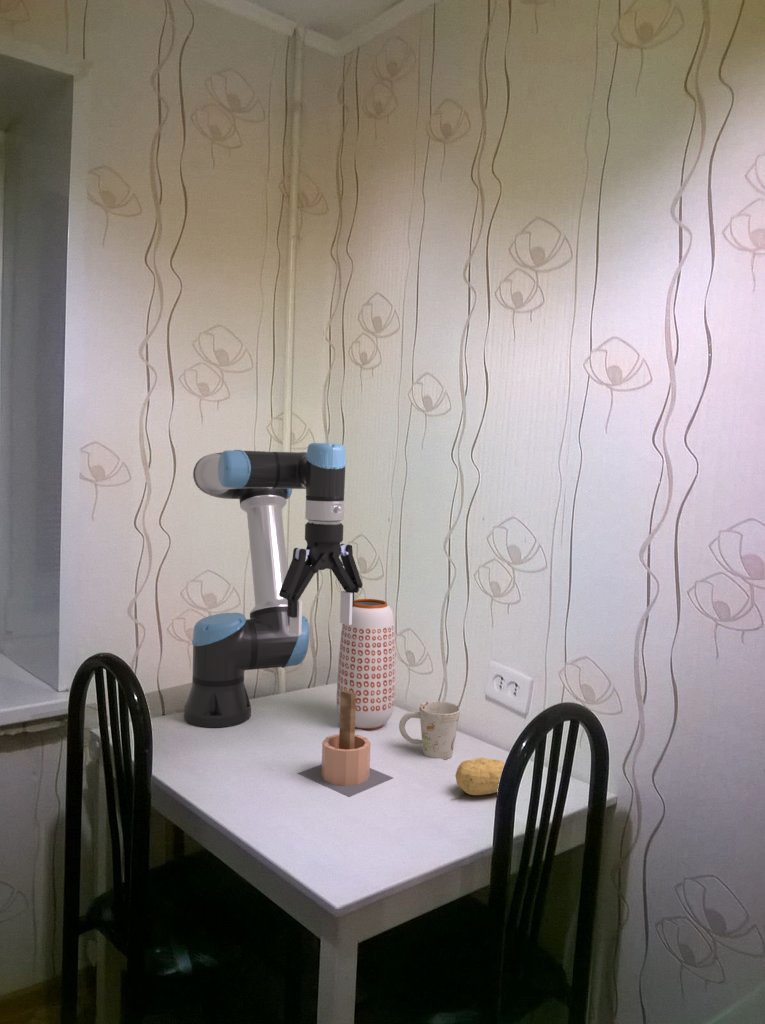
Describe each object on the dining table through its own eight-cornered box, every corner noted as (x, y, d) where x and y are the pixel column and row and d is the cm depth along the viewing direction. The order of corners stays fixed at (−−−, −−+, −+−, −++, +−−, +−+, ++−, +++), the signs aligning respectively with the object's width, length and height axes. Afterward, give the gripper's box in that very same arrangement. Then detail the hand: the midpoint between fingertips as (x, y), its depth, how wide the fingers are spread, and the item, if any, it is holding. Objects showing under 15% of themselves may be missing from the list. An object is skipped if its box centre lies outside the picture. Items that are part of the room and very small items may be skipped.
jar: (312, 774, 147) (313, 741, 147) (345, 762, 154) (346, 730, 153) (345, 789, 141) (346, 755, 141) (378, 776, 148) (379, 742, 147)
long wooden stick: (329, 769, 148) (331, 691, 147) (346, 764, 151) (348, 688, 150) (345, 776, 144) (347, 696, 144) (362, 770, 148) (364, 692, 147)
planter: (324, 721, 178) (327, 600, 175) (367, 710, 187) (371, 594, 184) (361, 738, 168) (366, 610, 166) (406, 725, 177) (410, 603, 175)
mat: (297, 775, 148) (297, 773, 148) (342, 758, 157) (342, 756, 157) (349, 799, 138) (349, 796, 138) (393, 779, 147) (393, 777, 147)
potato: (448, 787, 144) (449, 755, 144) (502, 782, 148) (504, 750, 147) (462, 803, 138) (463, 769, 138) (518, 797, 141) (520, 764, 141)
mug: (455, 764, 156) (457, 715, 155) (394, 757, 158) (395, 709, 157) (459, 749, 164) (461, 703, 163) (401, 742, 166) (403, 697, 165)
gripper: (288, 526, 140) (285, 641, 142) (381, 520, 159) (378, 623, 160) (262, 523, 145) (259, 634, 147) (355, 518, 164) (352, 616, 165)
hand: (321, 628), depth 154 cm, fingers open, 13 cm apart
